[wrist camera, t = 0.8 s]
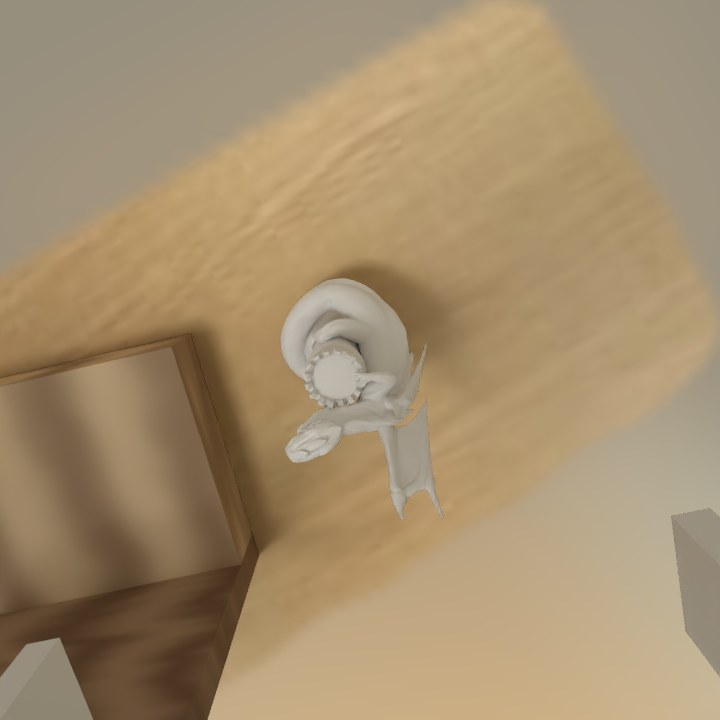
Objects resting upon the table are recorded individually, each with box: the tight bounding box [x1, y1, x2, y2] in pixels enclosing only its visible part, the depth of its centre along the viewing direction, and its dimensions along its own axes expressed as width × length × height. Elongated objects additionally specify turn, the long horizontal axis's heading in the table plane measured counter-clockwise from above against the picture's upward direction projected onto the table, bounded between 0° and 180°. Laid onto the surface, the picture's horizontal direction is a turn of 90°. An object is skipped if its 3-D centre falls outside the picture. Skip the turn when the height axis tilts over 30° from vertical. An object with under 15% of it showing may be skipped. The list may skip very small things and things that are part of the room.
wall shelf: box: [0, 334, 259, 720], centre depth 30 cm, size 15×15×16 cm
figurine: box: [281, 278, 443, 520], centre depth 30 cm, size 11×8×12 cm
